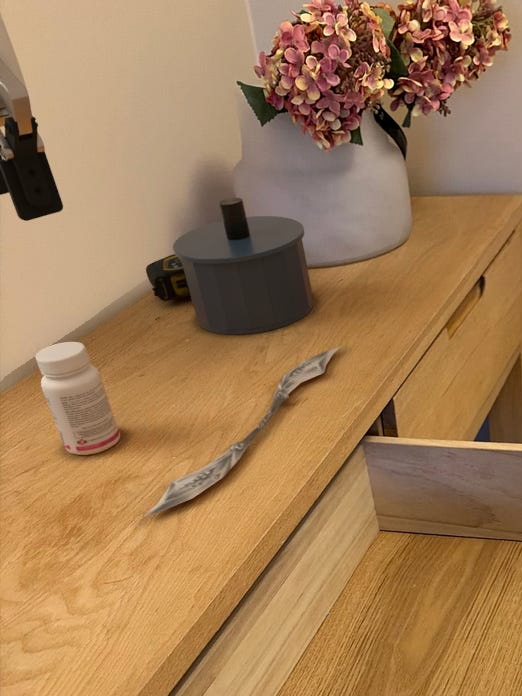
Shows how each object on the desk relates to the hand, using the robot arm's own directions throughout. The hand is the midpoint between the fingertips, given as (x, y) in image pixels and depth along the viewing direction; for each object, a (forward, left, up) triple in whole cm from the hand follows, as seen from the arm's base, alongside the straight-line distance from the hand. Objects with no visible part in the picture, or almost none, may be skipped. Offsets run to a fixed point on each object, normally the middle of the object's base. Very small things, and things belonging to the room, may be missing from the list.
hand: (16, 205), depth 74 cm
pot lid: (-15, +25, -12) cm, 32 cm away
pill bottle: (0, -1, -20) cm, 20 cm away
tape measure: (-27, +22, -20) cm, 40 cm away
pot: (-15, +25, -20) cm, 35 cm away
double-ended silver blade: (+9, +11, -20) cm, 24 cm away
